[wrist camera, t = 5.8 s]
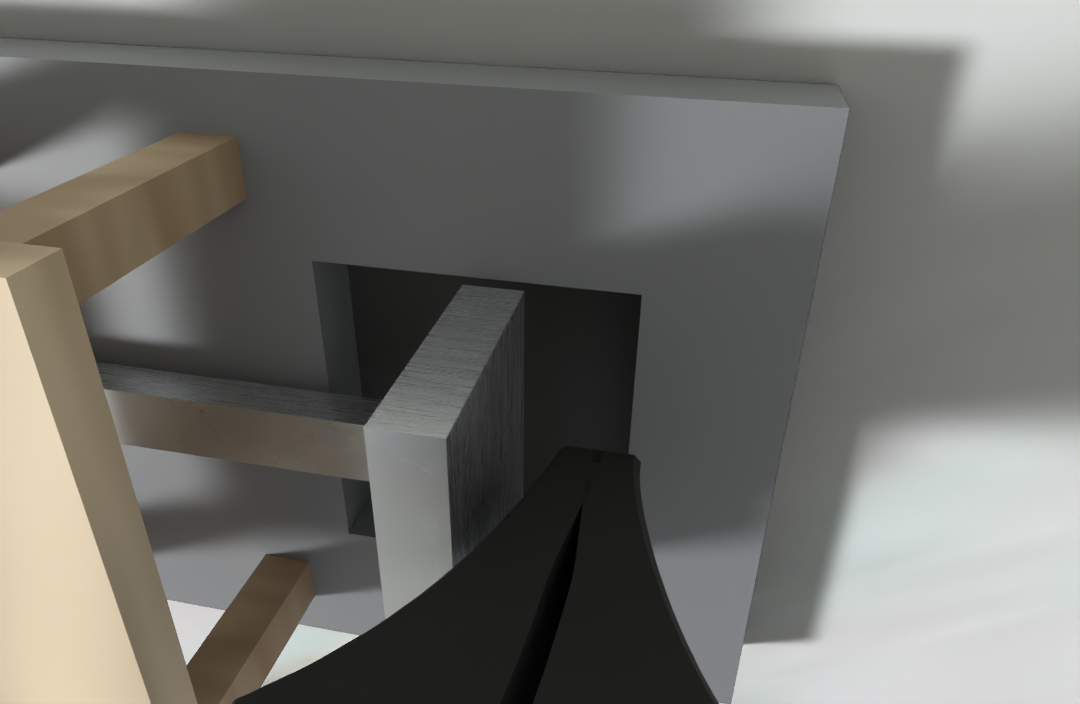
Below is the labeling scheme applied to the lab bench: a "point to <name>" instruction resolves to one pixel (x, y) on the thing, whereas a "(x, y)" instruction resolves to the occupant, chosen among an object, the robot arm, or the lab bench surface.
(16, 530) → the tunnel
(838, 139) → the deck
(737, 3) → the lab bench surface
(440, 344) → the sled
